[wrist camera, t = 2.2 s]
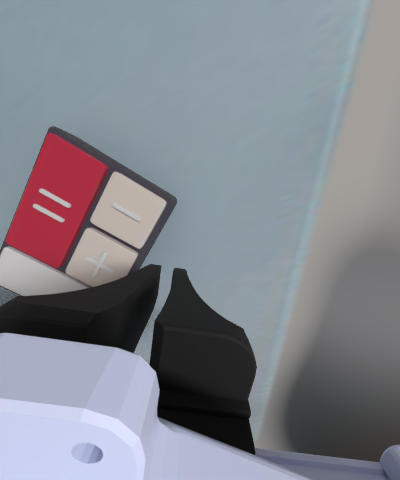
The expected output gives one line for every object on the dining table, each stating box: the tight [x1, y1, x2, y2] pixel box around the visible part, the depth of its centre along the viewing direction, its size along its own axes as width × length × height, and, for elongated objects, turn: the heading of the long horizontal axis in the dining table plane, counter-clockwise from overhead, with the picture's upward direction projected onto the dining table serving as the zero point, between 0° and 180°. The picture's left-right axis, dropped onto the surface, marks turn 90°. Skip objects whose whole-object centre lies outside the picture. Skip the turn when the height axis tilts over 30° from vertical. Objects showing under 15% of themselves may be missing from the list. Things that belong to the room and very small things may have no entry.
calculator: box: [0, 126, 177, 296], centre depth 18 cm, size 11×4×15 cm
